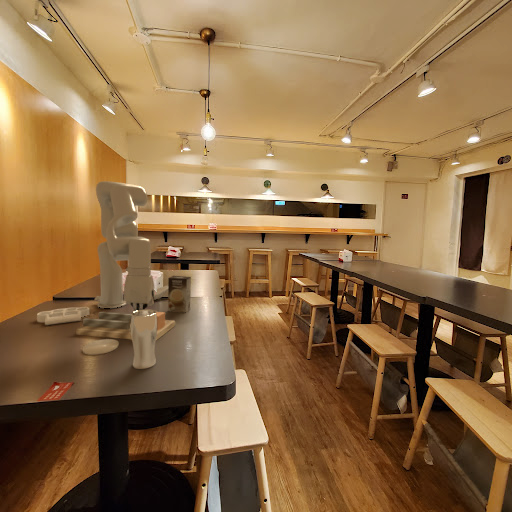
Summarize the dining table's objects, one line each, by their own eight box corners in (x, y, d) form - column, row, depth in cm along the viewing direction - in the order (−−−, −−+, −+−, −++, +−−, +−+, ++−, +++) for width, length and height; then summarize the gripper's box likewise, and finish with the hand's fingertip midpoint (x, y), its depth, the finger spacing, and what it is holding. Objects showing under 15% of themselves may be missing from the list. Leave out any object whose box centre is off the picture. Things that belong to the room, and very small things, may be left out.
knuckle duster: (34, 328, 102) (38, 318, 114) (90, 321, 112) (88, 311, 124) (34, 320, 102) (38, 310, 114) (90, 313, 112) (88, 304, 124)
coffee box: (167, 311, 126) (167, 277, 125) (172, 307, 133) (172, 275, 131) (186, 312, 125) (186, 278, 124) (191, 308, 132) (191, 276, 130)
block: (143, 328, 99) (142, 315, 98) (150, 324, 104) (150, 311, 103) (158, 329, 98) (158, 316, 97) (165, 325, 103) (165, 312, 102)
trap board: (76, 334, 97) (75, 322, 96) (106, 320, 113) (106, 309, 112) (154, 341, 93) (154, 328, 92) (175, 325, 108) (175, 314, 108)
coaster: (74, 353, 82) (74, 350, 82) (98, 340, 92) (98, 338, 92) (104, 356, 81) (104, 353, 81) (125, 342, 91) (125, 340, 91)
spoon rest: (144, 303, 141) (144, 289, 140) (138, 298, 150) (138, 285, 149) (187, 297, 155) (188, 285, 154) (180, 293, 164) (180, 281, 163)
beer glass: (136, 358, 80) (135, 309, 79) (160, 358, 81) (160, 309, 80) (127, 370, 73) (126, 316, 72) (153, 370, 74) (153, 316, 73)
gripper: (114, 272, 97) (115, 321, 99) (153, 274, 95) (153, 325, 97) (127, 268, 105) (127, 314, 107) (163, 271, 103) (163, 318, 105)
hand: (140, 319), depth 102 cm, fingers closed
